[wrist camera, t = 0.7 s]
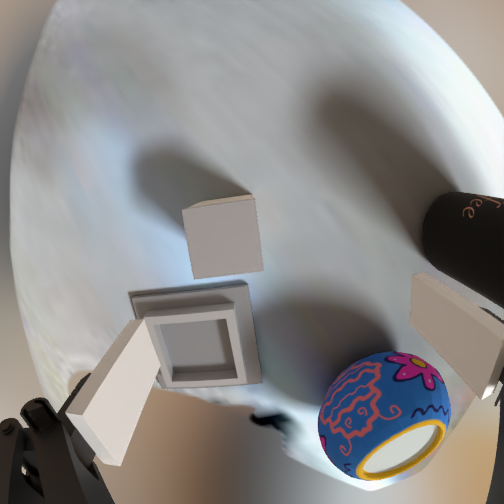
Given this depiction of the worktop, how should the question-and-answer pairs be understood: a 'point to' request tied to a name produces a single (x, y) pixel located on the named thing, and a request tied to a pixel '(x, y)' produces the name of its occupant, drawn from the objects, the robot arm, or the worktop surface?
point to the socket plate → (202, 336)
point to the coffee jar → (468, 241)
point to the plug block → (223, 237)
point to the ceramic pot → (383, 415)
